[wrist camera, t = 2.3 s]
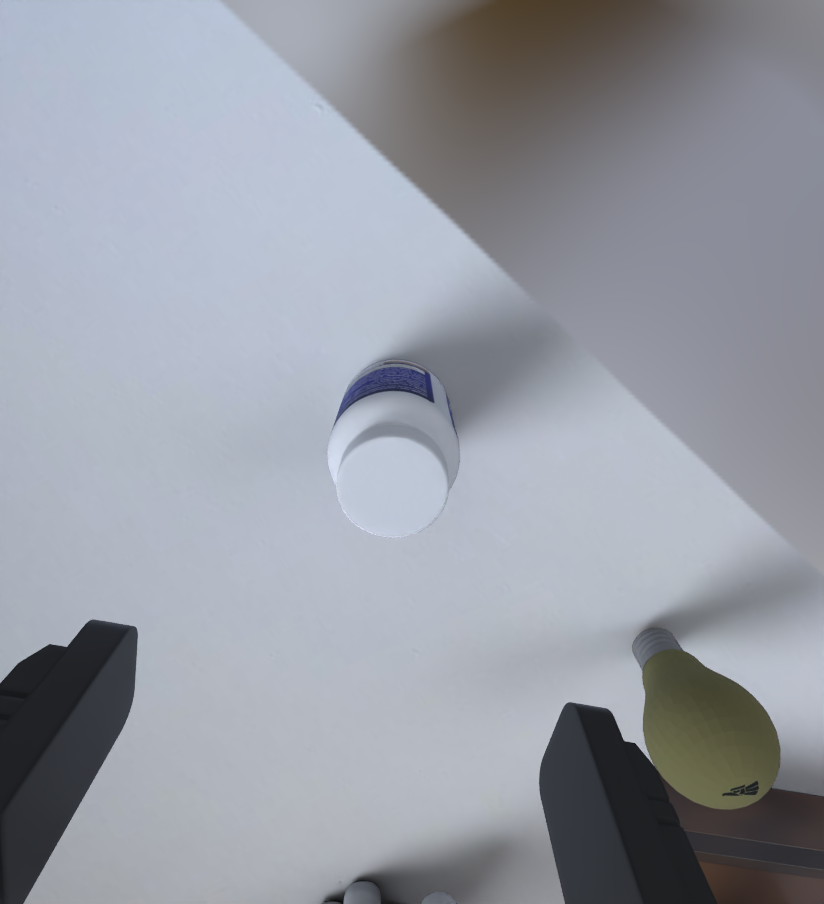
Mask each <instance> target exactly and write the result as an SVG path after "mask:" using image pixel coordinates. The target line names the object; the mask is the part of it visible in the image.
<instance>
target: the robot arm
mask: <svg viewBox="0 0 824 904" xmlns="http://www.w3.org/2000/svg"><path fill="white" fill-rule="evenodd" d="M137 639H138V633H137V628H136V627H134V626H129V625H123V624H117V623H111V622H105V621H99V620H90V621H89V622H87V623H86V624H85V626H84V627H83V628H82V629H81V630H80V632H79V633H78V634H77V635H76V637H75V638H74V639H73V640H72V642H71V643H70V644H69V645H68V647H63V646H57V645H51V644H49V645H47V646H46V647H44V648H43V649H41V650H39V651H38V652H36V653H34V654H33V655H31V656H29V657H28V658H26V659H25V660H23V661H21V662H20V663H18V664H17V665H16V666H15V668H14V669H13V670H12V671H11V672H10V673H9V674H8V675H7V677H6V678H5V679H4V680H3V681H2V682H1V683H0V904H23V903H24V901H25V899H26V898H27V896H28V894H29V892H30V891H31V889H32V887H33V885H34V884H35V882H36V880H37V878H38V877H39V875H40V873H41V871H42V870H43V868H44V866H45V864H46V862H47V861H48V859H49V857H50V855H51V854H52V852H53V850H54V848H55V847H56V845H57V843H58V841H59V840H60V838H61V836H62V834H63V833H64V831H65V829H66V827H67V826H68V824H69V822H70V820H71V818H72V817H73V815H74V813H75V811H76V810H77V808H78V806H79V804H80V803H81V801H82V799H83V797H84V796H85V794H86V792H87V790H88V789H89V787H90V785H91V783H92V782H93V780H94V778H95V776H96V774H97V773H98V771H99V769H100V767H101V766H102V764H103V762H104V760H105V759H106V757H107V755H108V753H109V752H110V750H111V748H112V746H113V745H114V743H115V741H116V739H117V738H118V736H119V734H120V732H121V730H122V729H123V727H124V724H125V722H126V720H127V717H128V715H129V712H130V709H131V705H132V701H133V697H134V689H135V672H136V656H137ZM539 786H540V795H541V800H542V805H543V809H544V813H545V818H546V822H547V827H548V831H549V835H550V840H551V844H552V848H553V853H554V857H555V861H556V866H557V870H558V875H559V879H560V883H561V888H562V892H563V896H564V901H565V904H717V902H716V899H715V897H714V895H713V893H712V890H711V888H710V886H709V884H708V882H707V879H706V877H705V875H704V873H703V871H702V868H701V866H700V864H699V862H698V860H697V857H696V855H695V853H694V851H693V849H692V846H691V844H690V842H689V840H688V838H687V835H686V833H685V831H684V829H683V827H680V820H679V818H678V815H677V813H676V811H675V809H674V807H673V804H672V803H670V802H669V796H668V793H667V791H666V789H665V787H664V785H663V782H662V780H661V778H660V776H659V774H658V771H657V769H656V768H655V767H654V766H653V764H652V763H651V762H650V761H649V759H648V758H647V757H646V756H645V755H644V753H643V752H642V751H641V750H640V749H639V747H638V746H637V745H636V744H635V743H631V742H625V741H624V740H623V738H622V735H621V733H620V730H619V728H618V726H617V723H616V721H615V718H614V716H613V714H612V713H611V711H610V710H608V709H606V708H601V707H595V706H589V705H583V704H577V703H571V702H569V703H567V704H566V705H565V706H564V707H563V710H562V712H561V714H560V717H559V719H558V722H557V724H556V727H555V729H554V732H553V734H552V737H551V739H550V742H549V744H548V746H547V749H546V751H545V754H544V756H543V759H542V763H541V767H540V777H539Z"/></svg>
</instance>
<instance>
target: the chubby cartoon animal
mask: <svg viewBox="0 0 824 904" xmlns="http://www.w3.org/2000/svg"><path fill="white" fill-rule="evenodd" d="M323 904H342V903H340V902H334V901H332V902H326V903H323ZM344 904H381V896H380V891H379V889H378V887H377V886H376V885H375V884H374V883H372V882H367V881H361V882H355V883H353V884H351V885H350V886H349V887H348V888H347V890H346V892H345V895H344ZM421 904H457V903H456V902H455V900H454V899H453V898H452V897H451V896H450V895H449V894H447V893H444V892H433V893H431V894H429V895H427V896H426V897H425V898H424V899H423V901H422V902H421Z"/></svg>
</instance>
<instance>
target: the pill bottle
mask: <svg viewBox="0 0 824 904" xmlns="http://www.w3.org/2000/svg"><path fill="white" fill-rule="evenodd" d="M459 463H460V449H459V442H458V437H457V433H456V430H455V426H454V422H453V418H452V413H451V408H450V404H449V400H448V397H447V394H446V392H445V390H444V388H443V386H442V384H441V383H440V381H439V380H438V379H437V378H436V377H435V376H434V375H433V374H432V373H431V372H430V371H429V370H427V369H426V368H424V367H422V366H420V365H418V364H416V363H413V362H410V361H405V360H386V361H381V362H378V363H375V364H373V365H371V366H369V367H367V368H366V369H364V370H362V371H361V372H360V373H359V374H358V375H357V376H356V377H355V378H354V379H353V380H352V382H351V383H350V384H349V386H348V388H347V390H346V392H345V394H344V397H343V400H342V403H341V406H340V409H339V412H338V415H337V418H336V420H335V423H334V426H333V429H332V432H331V435H330V439H329V444H328V465H329V469H330V473H331V476H332V478H333V480H334V482H335V484H336V490H337V497H338V500H339V503H340V505H341V507H342V509H343V511H344V513H345V514H346V516H347V517H348V518H349V519H350V520H351V521H352V522H353V523H354V524H355V525H356V526H358V527H359V528H361V529H362V530H364V531H366V532H368V533H371V534H373V535H377V536H380V537H388V538H398V537H405V536H410V535H413V534H415V533H418V532H420V531H422V530H424V529H425V528H427V527H428V526H429V525H431V524H432V523H433V522H434V521H435V520H436V519H437V518H438V516H439V515H440V514H441V512H442V510H443V509H444V506H445V504H446V502H447V498H448V493H449V490H450V488H451V487H452V485H453V483H454V481H455V478H456V476H457V472H458V469H459Z"/></svg>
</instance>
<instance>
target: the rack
mask: <svg viewBox="0 0 824 904" xmlns="http://www.w3.org/2000/svg"><path fill="white" fill-rule="evenodd" d="M658 774H659V776H660V778H661V780H662V782H663V785H664V787H665V789H666V791H667V793H668V796H669V802H670V803H672V804H673V807H674V809H675V811H676V813H677V815H678V818H679V820H680V827H683V829H684V831H685V833H686V835H687V838H688V840H689V842H690V844H691V846H692V849H693V851H694V853H695V855H696V857H697V860H698V862H699V864H700V866H701V868H702V871H703V873H704V875H705V877H706V879H707V882H708V884H709V886H710V888H711V890H712V893H713V895H714V897H715V899H716V902H717V904H824V797H821V796H814V795H808V794H802V793H796V792H789V791H783V790H777V789H770V790H769V791H768V792H767V793H766V794H765V795H764V796H763V797H762V798H760V799H759V800H758V801H756V802H754V803H752V804H750V805H748V806H746V807H742V808H737V809H732V810H729V809H714V808H710V807H707V806H704V805H701V804H698V803H696V802H693V801H692V800H690V799H688V798H686V797H685V796H683V795H682V794H680V793H679V792H677V791H676V790H675V789H674V788H673V787H672V786H671V785H670V784H669V783H668V782H667V781H666V780H665V779H664V778H663V777H662V776H661V774H660V773H659V771H658Z"/></svg>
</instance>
